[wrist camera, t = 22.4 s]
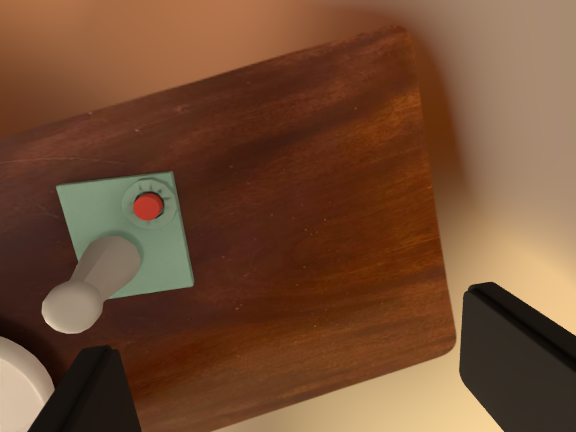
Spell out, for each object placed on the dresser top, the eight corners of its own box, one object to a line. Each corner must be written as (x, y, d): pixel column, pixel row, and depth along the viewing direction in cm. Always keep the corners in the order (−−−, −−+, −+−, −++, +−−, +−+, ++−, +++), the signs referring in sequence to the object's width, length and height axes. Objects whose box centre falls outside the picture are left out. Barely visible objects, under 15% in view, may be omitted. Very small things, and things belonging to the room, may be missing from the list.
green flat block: (61, 183, 39) (47, 189, 36) (175, 170, 40) (170, 174, 37) (94, 296, 43) (84, 309, 40) (196, 280, 44) (193, 292, 41)
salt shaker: (84, 235, 39) (12, 291, 27) (135, 223, 40) (89, 273, 27) (102, 281, 41) (43, 354, 28) (151, 269, 41) (114, 336, 29)
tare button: (135, 194, 37) (130, 198, 36) (160, 191, 38) (156, 194, 36) (140, 217, 38) (136, 222, 36) (164, 214, 38) (161, 219, 37)
